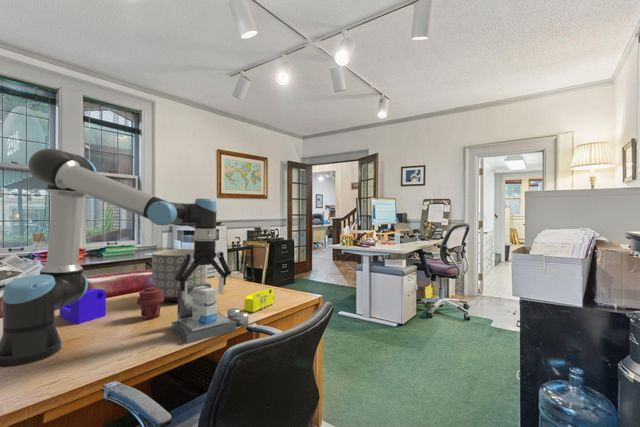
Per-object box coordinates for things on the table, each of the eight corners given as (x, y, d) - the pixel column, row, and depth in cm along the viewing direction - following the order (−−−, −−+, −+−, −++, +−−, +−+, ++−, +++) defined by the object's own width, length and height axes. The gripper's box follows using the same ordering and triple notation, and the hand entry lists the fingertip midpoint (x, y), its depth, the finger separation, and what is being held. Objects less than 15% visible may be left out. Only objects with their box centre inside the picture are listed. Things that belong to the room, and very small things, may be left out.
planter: (193, 305, 148) (193, 255, 148) (141, 305, 148) (141, 254, 148) (212, 292, 173) (212, 249, 173) (167, 291, 173) (167, 249, 173)
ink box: (217, 320, 115) (217, 288, 115) (205, 323, 111) (205, 291, 111) (203, 315, 120) (203, 285, 120) (191, 319, 116) (192, 287, 116)
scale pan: (191, 331, 106) (191, 329, 106) (179, 322, 116) (179, 319, 116) (230, 322, 116) (230, 319, 116) (215, 314, 125) (215, 311, 125)
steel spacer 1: (230, 322, 125) (230, 312, 125) (225, 319, 129) (225, 309, 129) (242, 319, 129) (242, 310, 129) (236, 316, 132) (236, 307, 132)
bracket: (105, 316, 132) (105, 288, 132) (78, 324, 122) (79, 294, 122) (75, 311, 138) (75, 285, 138) (47, 319, 128) (47, 290, 128)
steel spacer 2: (239, 327, 120) (239, 316, 120) (233, 323, 124) (233, 313, 124) (250, 324, 123) (250, 314, 123) (244, 320, 127) (244, 311, 127)
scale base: (186, 343, 104) (187, 299, 104) (169, 328, 118) (169, 288, 118) (236, 330, 116) (236, 290, 116) (214, 317, 131) (215, 281, 131)
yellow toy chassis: (254, 314, 136) (254, 294, 136) (243, 312, 139) (243, 293, 139) (275, 304, 151) (275, 287, 151) (265, 302, 153) (265, 286, 153)
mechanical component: (169, 314, 134) (152, 322, 125) (149, 312, 136) (131, 320, 127) (169, 286, 134) (152, 291, 125) (149, 284, 136) (131, 290, 127)
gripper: (173, 242, 105) (171, 304, 105) (240, 239, 122) (238, 293, 122) (166, 240, 110) (164, 300, 110) (231, 238, 127) (230, 289, 127)
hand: (203, 296), depth 116 cm, fingers open, 13 cm apart
